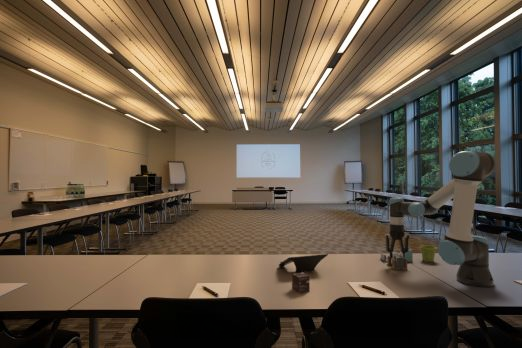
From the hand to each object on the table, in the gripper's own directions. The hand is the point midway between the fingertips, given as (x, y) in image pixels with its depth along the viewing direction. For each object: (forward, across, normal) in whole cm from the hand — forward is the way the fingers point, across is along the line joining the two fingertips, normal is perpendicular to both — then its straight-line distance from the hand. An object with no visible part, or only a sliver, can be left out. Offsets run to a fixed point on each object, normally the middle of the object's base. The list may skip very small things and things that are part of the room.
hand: (397, 263), depth 175 cm
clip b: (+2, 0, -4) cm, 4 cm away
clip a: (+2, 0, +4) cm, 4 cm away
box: (+2, +58, +42) cm, 72 cm away
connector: (+2, -11, -14) cm, 18 cm away
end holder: (+2, 0, -13) cm, 13 cm away
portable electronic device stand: (+2, +57, +11) cm, 58 cm away
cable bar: (+1, 0, 0) cm, 1 cm away
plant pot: (+2, -24, -14) cm, 28 cm away
